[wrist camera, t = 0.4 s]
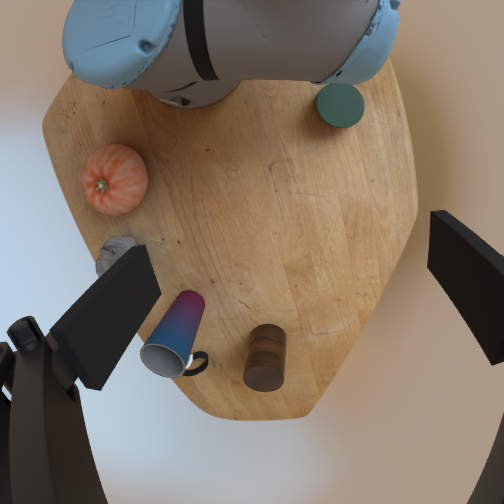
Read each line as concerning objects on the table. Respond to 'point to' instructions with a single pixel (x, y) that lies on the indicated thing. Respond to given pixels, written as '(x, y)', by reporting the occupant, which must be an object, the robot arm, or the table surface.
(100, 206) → the tomato
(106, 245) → the fossil
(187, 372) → the watch
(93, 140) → the table surface
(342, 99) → the green cylinder
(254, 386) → the brown jar
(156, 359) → the cup
